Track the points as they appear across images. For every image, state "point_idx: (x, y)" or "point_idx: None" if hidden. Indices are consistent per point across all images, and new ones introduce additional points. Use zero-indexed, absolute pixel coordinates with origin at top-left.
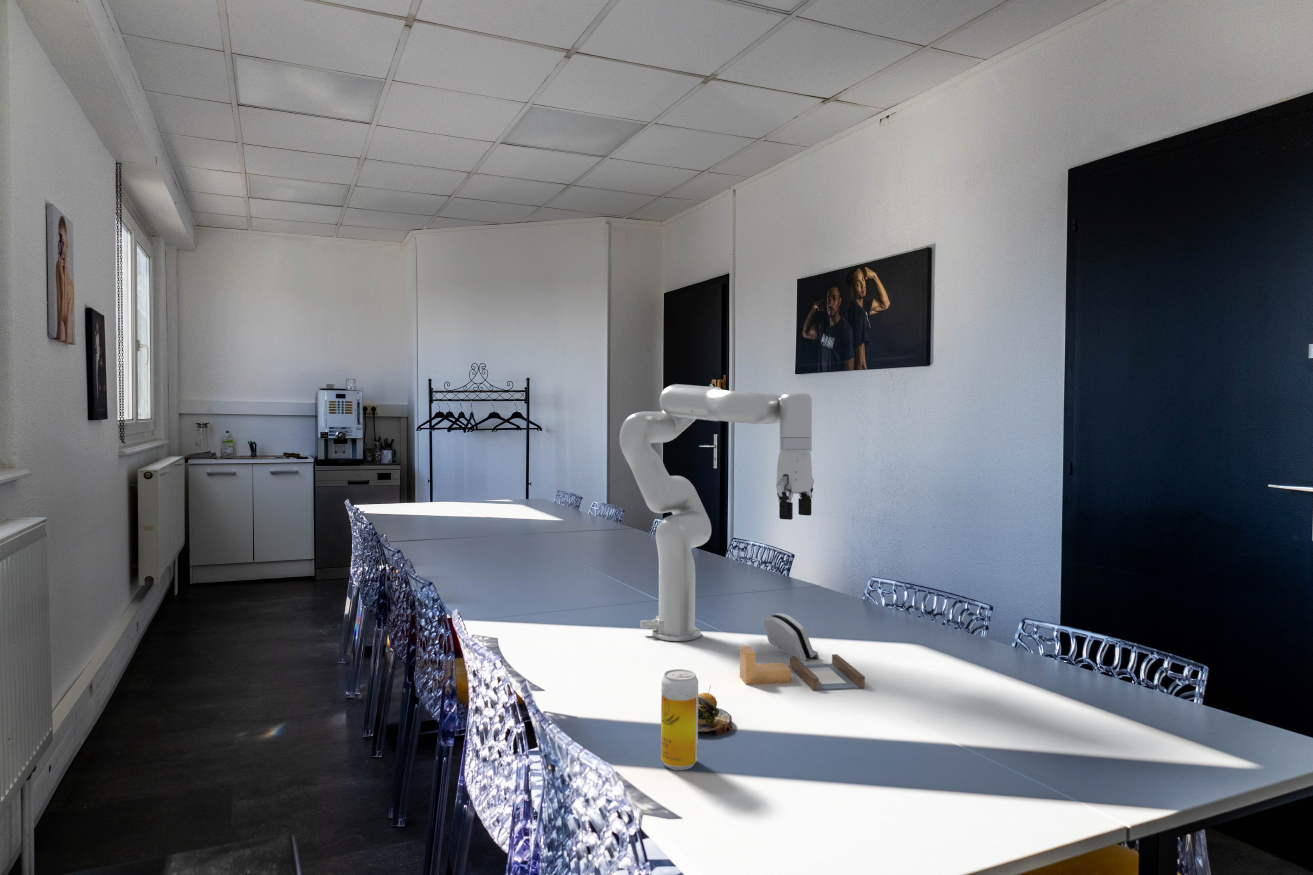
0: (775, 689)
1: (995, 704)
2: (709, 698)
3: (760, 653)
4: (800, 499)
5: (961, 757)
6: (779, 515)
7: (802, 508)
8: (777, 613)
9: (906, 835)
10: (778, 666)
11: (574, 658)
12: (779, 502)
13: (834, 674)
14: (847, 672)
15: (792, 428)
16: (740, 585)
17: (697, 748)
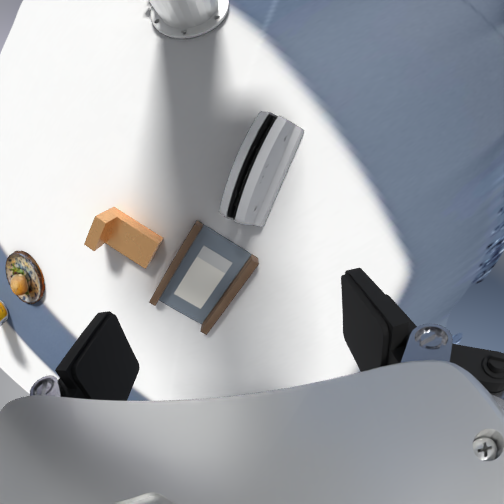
0: (120, 265)
1: None
2: (16, 294)
3: (213, 147)
4: (382, 342)
5: None
6: (93, 319)
7: (355, 317)
8: (280, 130)
9: None
10: (141, 249)
11: (35, 46)
12: (57, 368)
13: (214, 283)
14: (220, 300)
15: None
16: None
17: (3, 322)
